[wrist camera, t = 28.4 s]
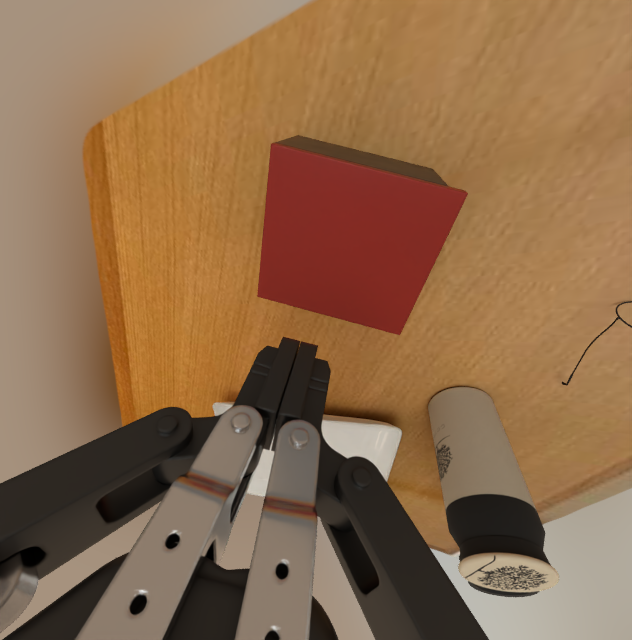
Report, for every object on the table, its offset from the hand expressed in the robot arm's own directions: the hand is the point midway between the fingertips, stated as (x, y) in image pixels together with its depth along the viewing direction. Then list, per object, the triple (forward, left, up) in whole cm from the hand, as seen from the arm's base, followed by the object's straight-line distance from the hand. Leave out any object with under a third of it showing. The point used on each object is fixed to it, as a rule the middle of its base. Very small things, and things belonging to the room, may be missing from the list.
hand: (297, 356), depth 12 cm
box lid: (+1, +1, -12) cm, 12 cm away
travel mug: (+28, +7, -20) cm, 35 cm away
